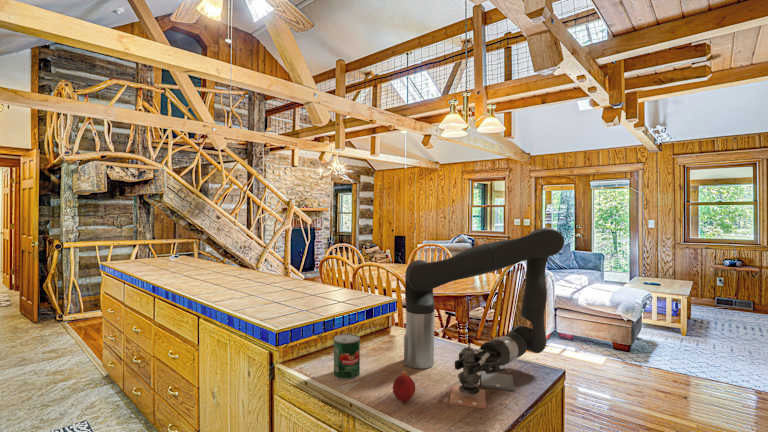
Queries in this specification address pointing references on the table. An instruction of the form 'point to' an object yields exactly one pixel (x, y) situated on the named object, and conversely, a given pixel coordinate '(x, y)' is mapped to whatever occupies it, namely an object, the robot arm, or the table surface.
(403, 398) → the onion
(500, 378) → the tile one
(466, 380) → the salt shaker
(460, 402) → the tile two
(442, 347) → the table surface
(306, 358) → the table surface
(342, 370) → the canned tomato
